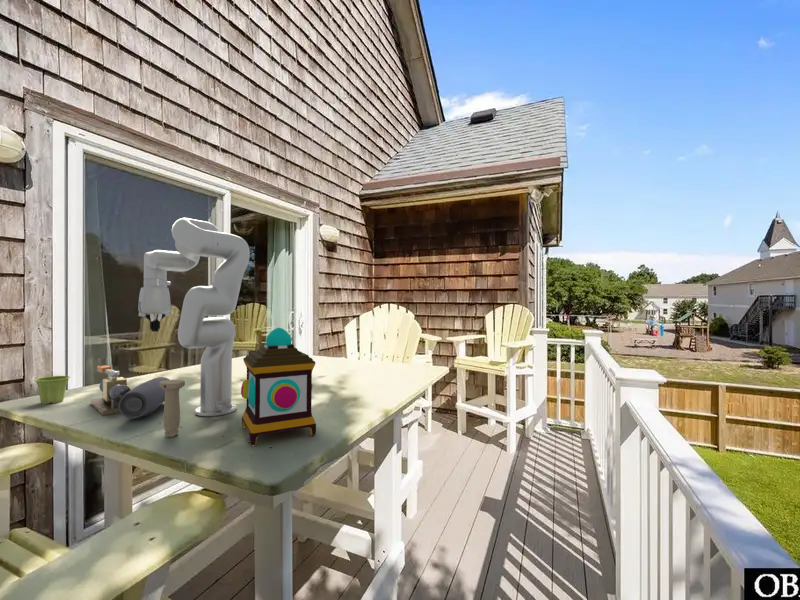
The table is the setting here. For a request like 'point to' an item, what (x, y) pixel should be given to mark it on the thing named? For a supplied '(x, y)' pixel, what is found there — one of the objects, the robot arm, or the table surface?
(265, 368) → the decorative lantern
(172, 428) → the handle
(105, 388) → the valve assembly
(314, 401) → the table surface
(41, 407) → the table surface
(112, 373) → the lever
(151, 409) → the bluetooth speaker
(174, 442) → the table surface
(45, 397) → the plant pot
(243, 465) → the table surface
